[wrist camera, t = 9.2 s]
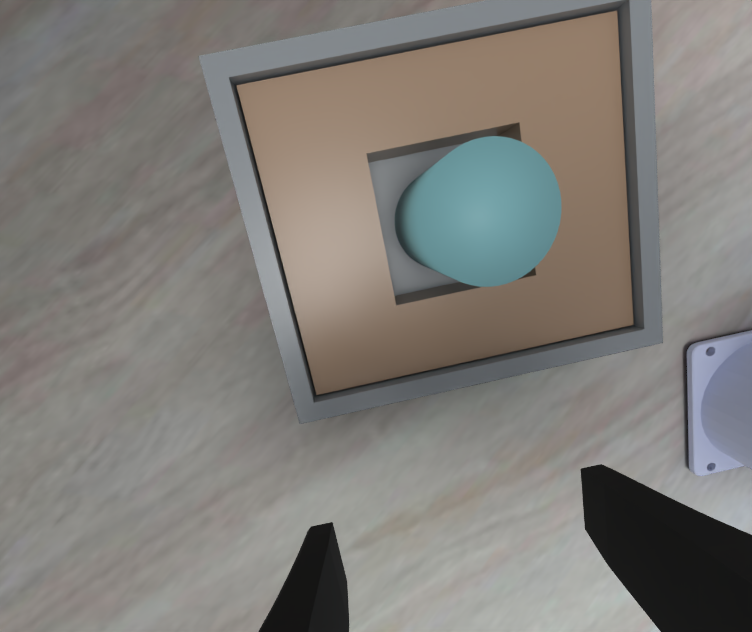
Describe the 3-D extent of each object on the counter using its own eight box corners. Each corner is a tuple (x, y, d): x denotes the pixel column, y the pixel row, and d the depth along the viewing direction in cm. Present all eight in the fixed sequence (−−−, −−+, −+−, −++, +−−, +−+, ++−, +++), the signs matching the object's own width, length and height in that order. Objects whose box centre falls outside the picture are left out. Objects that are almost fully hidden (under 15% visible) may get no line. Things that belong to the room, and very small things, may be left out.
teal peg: (484, 162, 17) (557, 125, 11) (493, 260, 18) (565, 274, 12) (387, 177, 17) (409, 148, 11) (402, 276, 18) (429, 297, 12)
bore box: (588, 22, 17) (650, -32, 13) (608, 323, 20) (662, 342, 17) (229, 93, 16) (198, 56, 13) (307, 390, 19) (299, 423, 16)
